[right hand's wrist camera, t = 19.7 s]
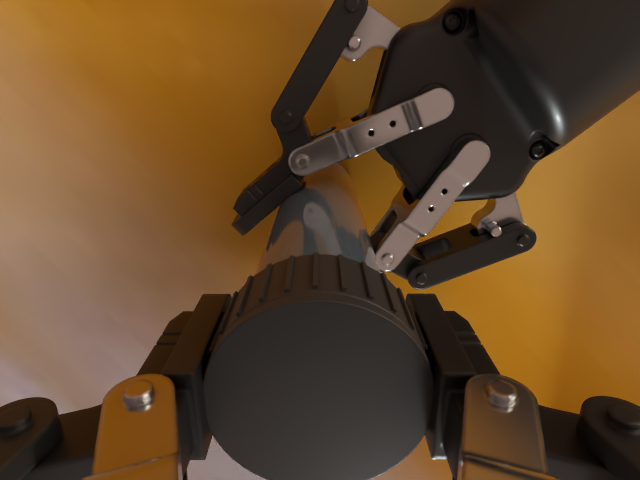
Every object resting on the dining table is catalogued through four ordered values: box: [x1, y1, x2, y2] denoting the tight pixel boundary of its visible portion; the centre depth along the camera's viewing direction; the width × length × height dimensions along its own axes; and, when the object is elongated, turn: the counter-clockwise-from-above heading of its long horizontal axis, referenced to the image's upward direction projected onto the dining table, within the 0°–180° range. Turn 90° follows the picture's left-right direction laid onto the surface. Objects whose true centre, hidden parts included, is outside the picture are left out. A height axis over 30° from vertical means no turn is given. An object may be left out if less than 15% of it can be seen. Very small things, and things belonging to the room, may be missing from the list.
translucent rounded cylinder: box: [255, 162, 381, 275], centre depth 18 cm, size 4×4×17 cm
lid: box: [203, 252, 434, 480], centre depth 10 cm, size 5×5×2 cm
